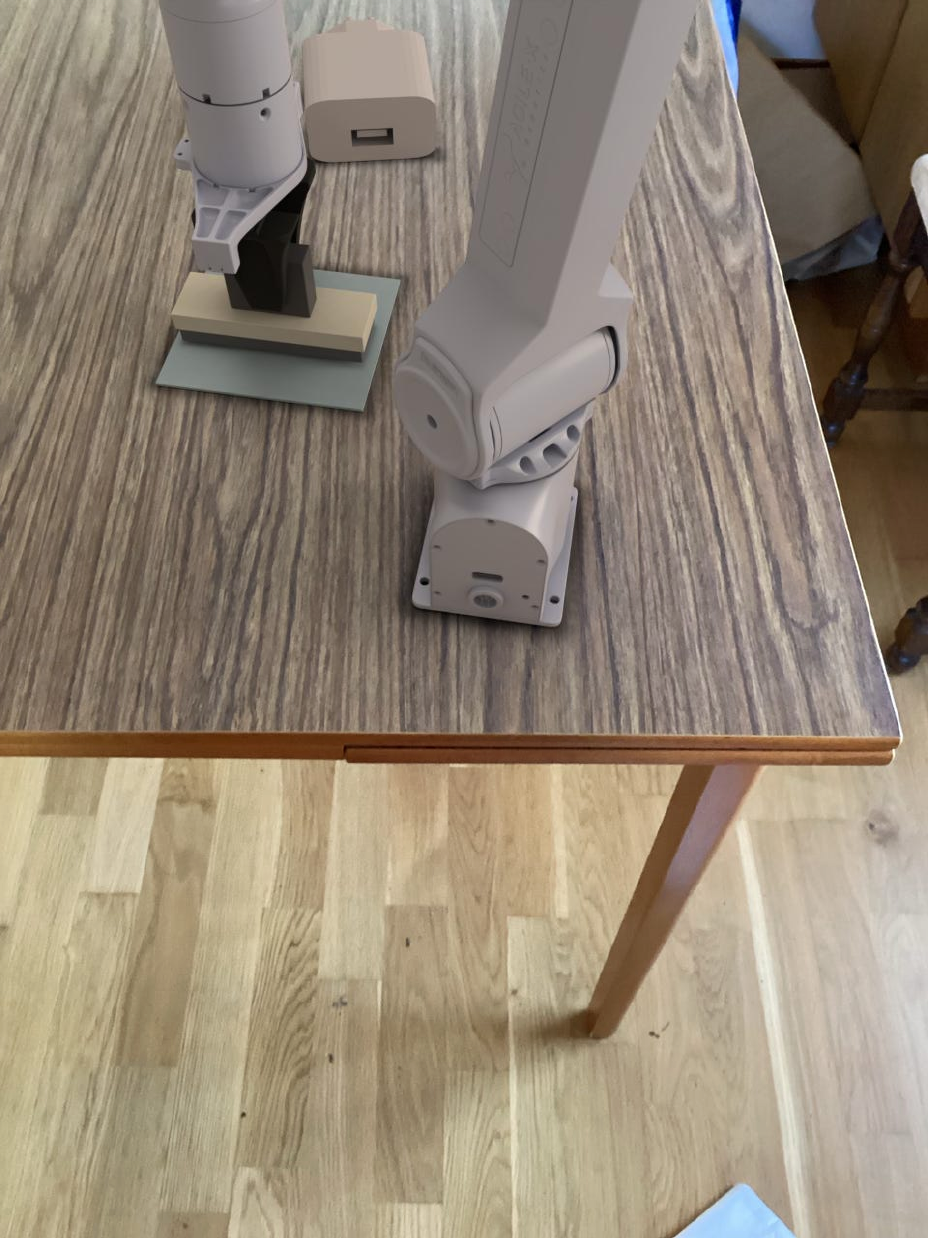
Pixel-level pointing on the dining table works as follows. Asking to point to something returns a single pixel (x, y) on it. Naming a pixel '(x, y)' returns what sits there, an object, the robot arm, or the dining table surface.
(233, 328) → the brush
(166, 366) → the mat
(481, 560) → the robot arm
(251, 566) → the dining table surface
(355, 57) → the charger
